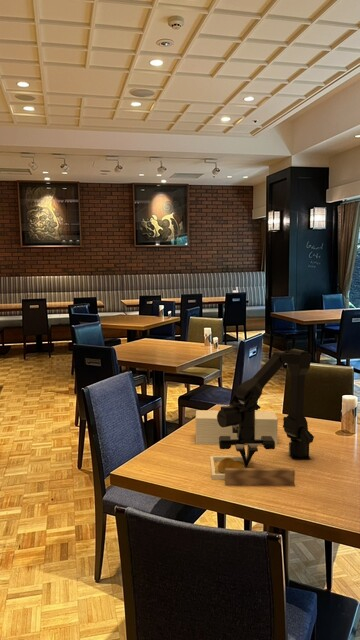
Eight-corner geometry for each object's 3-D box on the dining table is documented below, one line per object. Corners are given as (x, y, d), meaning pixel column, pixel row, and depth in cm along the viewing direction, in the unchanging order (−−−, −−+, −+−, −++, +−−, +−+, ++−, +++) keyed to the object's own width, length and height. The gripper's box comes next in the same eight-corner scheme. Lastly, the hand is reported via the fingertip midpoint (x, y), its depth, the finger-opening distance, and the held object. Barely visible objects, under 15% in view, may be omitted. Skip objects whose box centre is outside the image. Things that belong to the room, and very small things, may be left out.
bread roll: (235, 478, 159) (235, 467, 159) (214, 471, 165) (214, 459, 165) (249, 470, 165) (249, 459, 165) (228, 463, 171) (228, 453, 171)
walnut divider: (293, 483, 155) (293, 468, 154) (294, 485, 153) (294, 470, 152) (224, 482, 155) (224, 468, 155) (225, 485, 154) (225, 470, 153)
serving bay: (246, 460, 173) (246, 456, 173) (251, 479, 158) (251, 475, 157) (210, 460, 174) (210, 456, 174) (212, 479, 158) (212, 474, 158)
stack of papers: (195, 444, 190) (195, 418, 189) (196, 435, 201) (196, 410, 200) (277, 445, 188) (277, 419, 187) (273, 436, 199) (274, 411, 198)
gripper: (270, 415, 172) (269, 457, 173) (217, 415, 172) (217, 457, 174) (275, 425, 160) (274, 470, 162) (219, 425, 161) (219, 470, 163)
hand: (246, 466), depth 165 cm, fingers closed
